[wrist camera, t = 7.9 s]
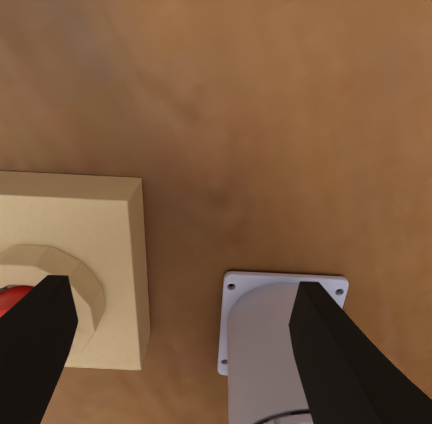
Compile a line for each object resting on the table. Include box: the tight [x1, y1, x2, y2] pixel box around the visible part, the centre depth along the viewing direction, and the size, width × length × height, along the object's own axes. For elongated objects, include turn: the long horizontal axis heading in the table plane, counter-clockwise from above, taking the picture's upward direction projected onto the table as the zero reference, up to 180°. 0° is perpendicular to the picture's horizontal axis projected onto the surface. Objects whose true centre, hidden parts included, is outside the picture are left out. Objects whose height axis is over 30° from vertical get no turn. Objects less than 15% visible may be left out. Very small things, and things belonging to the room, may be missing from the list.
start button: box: [0, 286, 34, 317], centre depth 16 cm, size 4×4×2 cm
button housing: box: [0, 171, 151, 370], centre depth 19 cm, size 12×10×5 cm
